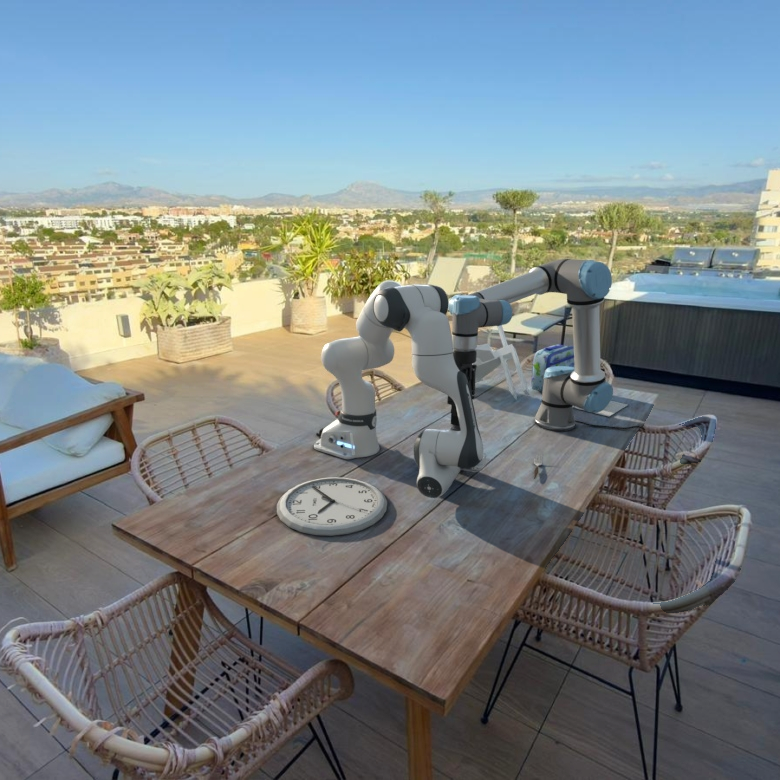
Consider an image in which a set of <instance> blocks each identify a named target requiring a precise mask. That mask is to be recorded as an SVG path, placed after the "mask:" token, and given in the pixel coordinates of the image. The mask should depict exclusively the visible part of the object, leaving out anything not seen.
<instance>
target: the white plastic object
mask: <svg viewBox="0 0 780 780" xmlns="http://www.w3.org/2000/svg"><path fill="white" fill-rule="evenodd" d="M496 328H497V332H498V335H499V338H500V342H501V345H502V347H500V348H498V349H496V350H495V349H493V348H492V347H491V346H490V344H489V343H488V342H487V343H483V344H479V345H478V344H477V348H476V351H477V355H476V362H475V363H472V364H474V365H477V367H476V376H475V384H477V383H480V382H482V381H484V378H485V377H486V376H487V375H489V374H490V373H492V372H494V371H495V370H496V369H497V368H499V367H500V366H502V370H503V373H504V376H505V380H506V383H507V386H508V390H509V393H510V394H511V395H512V397H513V398H514V399H515V400H517V392H516V391H517V390H516V388H515V385H514V381H513V378H512V375H511V371H510V369H509V365H508V361H510V360H513V363H514V366H515V369H516V372H517V376H518V380H519V382H520V385H521V389H522V391H523V393H524V395H525V396H526V397H528V396H531V395H530V390H529V388H528V387H529V386H528V384H527V381H526V378H525V375H524V371H523V369H522V368H523V367H522V366H521V362H520V359H519V355H518V352H517V349H516V347H515V346H514V345H513V343H511V344H508V341H507V337H506V334H505V331H504V328H503V325H500V326H496Z"/></svg>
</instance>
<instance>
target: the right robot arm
mask: <svg viewBox="0 0 780 780" xmlns="http://www.w3.org/2000/svg"><path fill="white" fill-rule="evenodd" d="M612 285H613V275H612V272H611V270H610V268H609V267H608V266H607V264H605V263H604V262H601V261H597V260H594V259H576V258H575V259H574V258H573V259H572V258H560V259H555V260H552V261H549V262H546V263H543V264H540V265H537V266H535V267H532V268H531V269H530V270H529V271H528V272H527V273H524V274H521V275H519V276H516V277H513V278H511V279H510V278H509V279H507V280H505V281H503V282H500V283H497V284H494V285H492V286H489V287H486V288H483V289H480V290H478V291H475V292H471V293H469V294H455V295H453V296H452V297H451V298H450V300H449V301H448V311H449V314H450V315H451V316H452V324H451V326H452V329H451V334H452V342H453V356H454V361H455V363H456V366H457V367H458V369H459V370H460V371H461V372H463V373H464V374H465V375H466V377H467V380H468V383H469V387H470V391H471V396H472V400H475V395H476V383H475V376H476V367H477V365H474V364H472V363H475V362H476V355H477V351H476V348H477V346H478V337H479V336H478V335H479V328H480V329H481V328H490V327H497V326H500V325H502V326H504V325H508V324H509V323H510V322H511V320H512V318H513V307H512V305H511V304H513V303H515V302H518V301H520V300H524V299H526V298H528V297H531V296H533V295H538V296H540V295H545V294H548V293H557V294H563V295H566V303H567V305H569V306H570V307H571V312H572V313H571V314H572V315H571V316H572V336H573V339H572V340H573V347H574V363H575V365H574V367H569V366H555V367H549V368H547V369H546V370H545V374H544V378H543V379H544V380H543V390H542V391H541V402H540V405H539V407H538V410H537V411H536V413H535V416H534V424H535V425H536V426H537V427H539V428H542V429H544V430H549V431H556V432H567V431H572V430H574V429H575V428H576V423H577V424H582V425H585V426H589V427H595V428H604V429H605V428H606V429H615V430H623V431H624V430H631V429H632V430H633V429H637V428H639V429H641V430H642V431H646V428H645V427H643V426H641V425H632V426H627V427H621V426H611V425H602V424H593V423H588V422H584V421H581V420H578V419H576V418H575V417H576V416H575V413H574V407H578V408H581V409H584V410H585V411H584V410H583V411H584V412H588V411H589V412H588V413H592V412H593V414H596V413H597V412H600V411H602V410H603V409H605V408H606V407H607V405H608V404H609V402H610V401H612V399H613V395H614V388H613V385H611V383H609V382H608V381H606V373H605V372H604V371H603V370H602V369H601V327H600V326H601V324H600V323H601V321H600V318H601V317H600V305H601V304H602V303H603V302H604V301H605V297H606V296H608V294H609V293H610V291H611V290H610V289H611V288H612ZM447 405H450V406H451V407H450V425H456V426H459V425H460V424H459V419H458V414H457V409H456V405H455V403H454V401H453V400H452V398H451V397H449V396H448V395H447Z"/></svg>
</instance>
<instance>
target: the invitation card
mask: <svg viewBox="0 0 780 780" xmlns="http://www.w3.org/2000/svg"><path fill="white" fill-rule="evenodd" d="M628 406H629V404H627V403H623V402H618V401H614V400H611V401H610V402H609V404H608V405H607V407H606V408H605V409H603V410H602V411H600V412H597V413H595V414H596V415H600V416H604V417H608V418H609V417H611V416H613V415H614V414H616V413H617V412H619V411H621V410H623V409H624V408H626V407H628ZM573 409H575V410H581V411H584V412H586V411H585V410H584V409H581V408H578V407H576V406H573ZM587 413H590V412H589V411H587ZM591 413H593V412H591ZM593 414H594V413H593Z"/></svg>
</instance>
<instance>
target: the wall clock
mask: <svg viewBox="0 0 780 780" xmlns="http://www.w3.org/2000/svg"><path fill="white" fill-rule="evenodd" d="M387 509H388V500H387V498H386V496H385V494H384V493H383V492H382V491H381V490H380V489H379V488H377V487H376V486H374V485H372V484H371V483H369V482H365V481H362V480H359V479H355V478H349V477H338V476H337V477H335V476H333V477H332V476H331V477H322V478H317V479H312V480H307V481H305V482H302V483H299V484H297V485H295V486H293V487H292V488H290V489H288V490H287V491H286V492H285V493H284V494H283V495H281V496H280V498H279V499H278V502H277V503H276V515H277V517H278V518H279V520H280V521H281V522H282V523H283V524H285V525H286V526H287V527H288V528H290V529H293V530H295V531H297V532H299V533H303V534H308V535H312V536H327V537H328V536H329V537H331V536H332V537H333V536H342V535H350V534H352V533H356V532H361V531H363V530H366V529H368V528H369V527H372V526H373V525H375V524H376V523H378V522H379V521H380V520H381V519H382V518H383V517H384V516H385V514H386V512H387Z"/></svg>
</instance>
